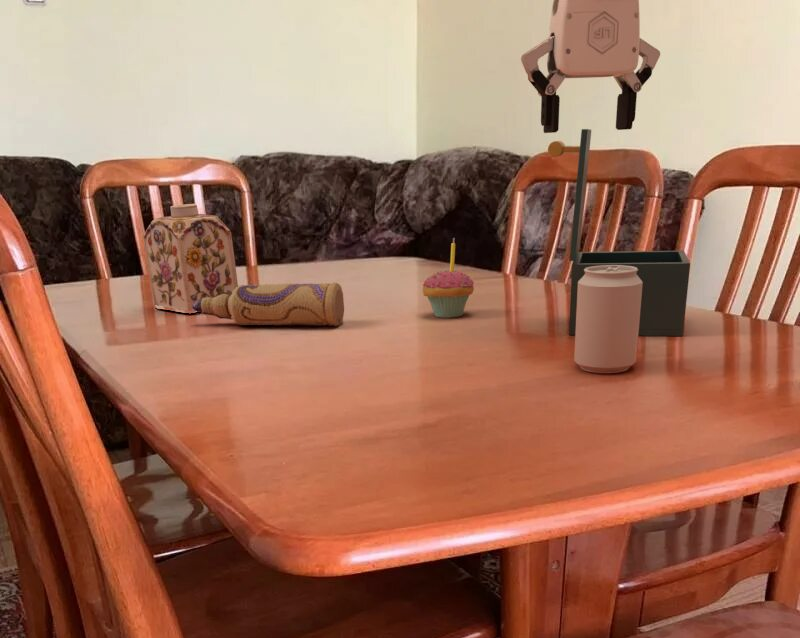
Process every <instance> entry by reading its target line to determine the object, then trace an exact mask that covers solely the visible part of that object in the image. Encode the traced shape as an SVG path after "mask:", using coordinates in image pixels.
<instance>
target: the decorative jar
mask: <svg viewBox="0 0 800 638" xmlns="http://www.w3.org/2000/svg"><path fill="white" fill-rule="evenodd" d="M198 208H199V207H198V205H197V203H186V204H176V205H171V206H170V215H166V216H161V217H156V218H155V219H153V220H152V221H151V222H150V224H149V225H148V227H147V228H146V230H145V232H144V234H143V237H142V238H143V243H144V249H145V256H146V264H147V271H148V277H149V282H150V283H149V284H150V288H151V289H150V290H151V295H152V299H153V305H154V306H155V305H157V306H163V307H168V308H173V309H178V310H183V311H195V310H194V309H193V308H192V307H193V304H194V302H196V301H197V300H202V299H203V298H206V297H212V298H215V297H217V296H219V295H223V294H226V295H227V294H229V295H232V293H233V291H234V289H235V288H236V287H238V286H239V283H238V273H237V266H236V259H235V252H234V244H233V237H232V232H231V230H230V229H229V227H228V226H227V224H225V223H224V222H223V220H221V219H220V217H219V216H218V215H213V214H209V213H208V214H207V213H206V214H204V213H199V209H198Z"/></svg>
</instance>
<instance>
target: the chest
mask: <svg viewBox="0 0 800 638" xmlns="http://www.w3.org/2000/svg"><path fill="white" fill-rule="evenodd" d="M601 265H625V266H633V267H636V268H637V269H638V271H637V273H636V274H637V276H638V277H639V278H640V279H641V281H642V282H643V284H642V297H641V309H640V321H639V333H638V337H683V336H684V329H685V320H686V319H685V318H686V309H687V300H688V292H689V291H688V289H689V281H690V273H691V272H690V270H691V261H690V260H689V258H688V256H687V254H686V252H685V250H638V251H637V250H634V251H633V250H631V251H627V250H626V251H623V250H622V251H579V252H578V254H577V257H576V260H575V261H572V264H571V275H570V278H571V279H570V283H571V284H570V298H569V299H570V301H569V321H568V323H569V324H568V335H569V336H575V333H576V312H577V292H578V281H579V280H580V279H581V278H582V277H583V276H584V275H585V272H584V269H585V268H587V267H591V266H601Z"/></svg>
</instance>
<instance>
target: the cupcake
mask: <svg viewBox="0 0 800 638" xmlns="http://www.w3.org/2000/svg"><path fill="white" fill-rule="evenodd" d="M455 239H456V238H455V237H453V238H452V243H451V245H450V259H449V260H450V261H449V262H450V263H449V270H444V271H443V270H440V271H438V272H436V273H434V274H433V275H431V276H429V277H427V278H426V279H425V280H424V283H423V284H422V294H423V295H422V296H424V297H427V299H428V301H429V303H430V306H431V309H432V313H433V315H434V317H436V318H442V319H450V318H451V319H452V318H458V317H461V316H463V315H464V313H465V312H464V311H465V307H466V305H467V301H468V299H469V297H470V296H471V295H472V294H473V293H474V290H475V287H474V284H475V282H474V280H473V279H472V278H470V277H471V276H468V275H467V274H465V273H463V272H460V271H456V270H455V257H456V243H455Z"/></svg>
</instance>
